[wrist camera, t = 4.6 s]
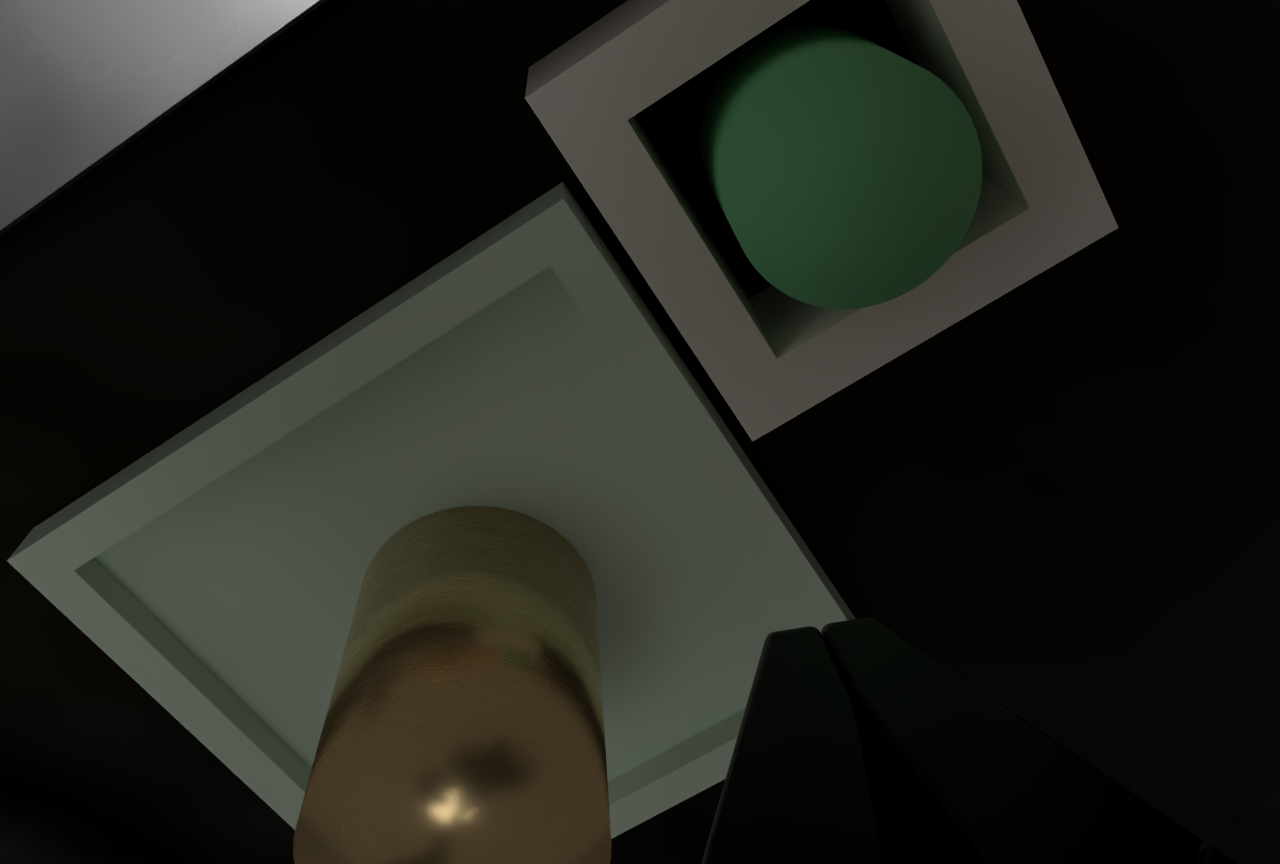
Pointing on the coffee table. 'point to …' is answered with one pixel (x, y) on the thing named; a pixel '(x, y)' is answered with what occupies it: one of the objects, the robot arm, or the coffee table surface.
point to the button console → (771, 320)
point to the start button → (840, 165)
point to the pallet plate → (109, 78)
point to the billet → (465, 704)
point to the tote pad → (441, 479)
